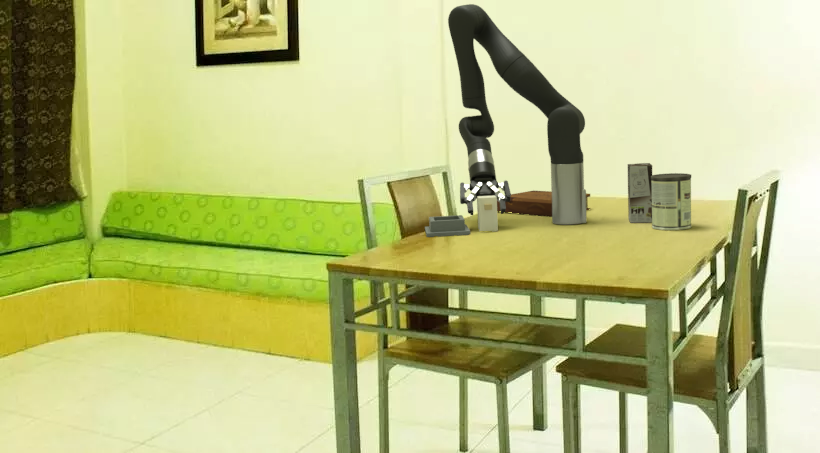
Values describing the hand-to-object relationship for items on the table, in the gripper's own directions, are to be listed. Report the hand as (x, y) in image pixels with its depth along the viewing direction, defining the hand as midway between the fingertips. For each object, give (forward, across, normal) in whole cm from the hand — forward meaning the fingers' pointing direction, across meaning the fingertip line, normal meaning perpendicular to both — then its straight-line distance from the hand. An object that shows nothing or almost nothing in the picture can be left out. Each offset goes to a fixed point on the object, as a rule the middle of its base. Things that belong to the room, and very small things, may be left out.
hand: (487, 212), depth 239 cm
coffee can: (+11, +48, -4) cm, 50 cm away
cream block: (+3, 0, +4) cm, 5 cm away
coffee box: (+1, +44, +6) cm, 45 cm away
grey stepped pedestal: (+3, -11, +4) cm, 13 cm away
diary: (-20, +22, +28) cm, 41 cm away
